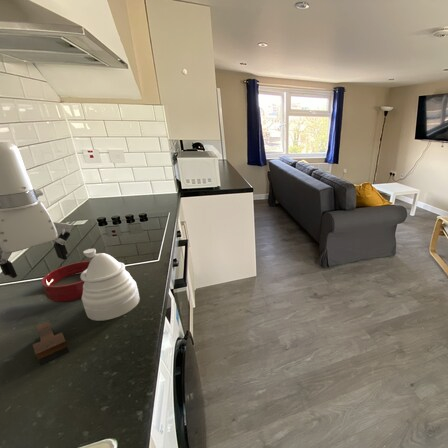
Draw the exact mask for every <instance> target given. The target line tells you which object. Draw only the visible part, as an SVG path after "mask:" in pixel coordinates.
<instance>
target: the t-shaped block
mask: <svg viewBox="0 0 448 448" xmlns="http://www.w3.org/2000/svg"><path fill="white" fill-rule="evenodd" d="M36 330H37V333H38V336H39V339H40V341H38V342H36V343H34V344H32V347H33V351H34V355H35V358H36V359H37V360H38V362H39V364H40V365H41V366H42V365H44V364H46V363H48V362H50V361H53V360H54V359H57V358H58V357H61V356H63V355H66V354H67V353H70V350H69V348H68V344H67V341H66V339H65V336H64V334H63V332H62V331H61V332H59V333H57V334H54V331H53V329H52V327H51V324H50V322H49V321H46V322H43V323H40V324H38V325H36Z"/></svg>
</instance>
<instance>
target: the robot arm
mask: <svg viewBox="0 0 448 448" xmlns="http://www.w3.org/2000/svg"><path fill="white" fill-rule="evenodd" d="M41 196H44V192H43V191H42V189H38V190H37V189H34V188H33V185H32V182H31V180H30V177H29V174H28V171H27V169H26V166H25V164H24V160H23V158H22V154H21V151H20V150H19V147H18V146H17V145H16V144H14V143H12V142H8V141H0V270H1V273H2V274H3V275H4V276H8V277H9V278H12V279H15V278H17V277H18V274H17V272H16V270H15V266H14V265H13V263H12V262H11V260H9V259H10V258H11V256H12V254H13V253H16V252H20V251H23V250H27V249H31V248H33V247H38V246H40V245H43V244H47V243H50V242H54V243H53V248H54V250H55V253H56V256H57V258H58V259H60V260H64V261H65V260H67V259H68V257H67V255H68V250H67V247H66V244H67V240H68V239H69V238H70V236H71V231H72V228H73V225H72V224H69V223H64V222H57V221H53V219H52V217H51V215H50V213H49V211H48V210H47V208H46V206H45V205H44V203H43V202H42V201H41V200H39V197H41ZM57 229H62V231H61V233H60V234H58V230H57Z"/></svg>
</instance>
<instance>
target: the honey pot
mask: <svg viewBox="0 0 448 448" xmlns="http://www.w3.org/2000/svg"><path fill="white" fill-rule="evenodd" d="M82 253H83V255H84V256H85V257H87V258H89V259H90V260H89V261H90V263H89V266H88V269H86V270H85V271H83V272H82V273H80V277H79V278H80V281H84V282H85V283H84V284H83V294H82V298H81V302H82V306H83V309H84V311H85V315H86V316H87V318H88V319H90V320H91V321H108V320H113V319H116V318H119V317H121V316H124V315H125V314H127V313H129V312H131V311H132V310H133V309H135V308H136V307H137V305H138V304H139V303H140V300H141V297H140V293H139V288H138V285H137V282H136V281H135V279H133V277H132V276H131V274H130V272H129V271H127V269H126V265H125V263H124V262H121V261H118V260H117V259H116V258H115V257H113V256H112V255H110V254H108V253H104V252H100V253H97V250H96V248H88V249H85V250H83V252H82Z"/></svg>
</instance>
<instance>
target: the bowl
mask: <svg viewBox="0 0 448 448" xmlns="http://www.w3.org/2000/svg"><path fill="white" fill-rule="evenodd" d="M90 261H91V260H83V261H82V260H81V261H77V262H73V263H69V264H65V265H63V266H60V267H57V268H55V269H54V270H52V271H50V272H48V273H46V274H45V275H44V276H43V277H42V279H41V281H40V282H41V285H42V288H43V290H44V292H45V296H46V298H47V299H48V300H50V301H52V302H55V303H66V302H73V301H77V300H82V294H83V284H84V283H85V282H84V281H82V280H80V281H76V282H74V283H69V284H64V285H61V284H60V285H55V284H56V283H58V282H59V281H61V280H63V279H66V278H68V277H71V276H75V275H78V274H82V272H83V271H85V270H86V269H88V266H89V263H90Z"/></svg>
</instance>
